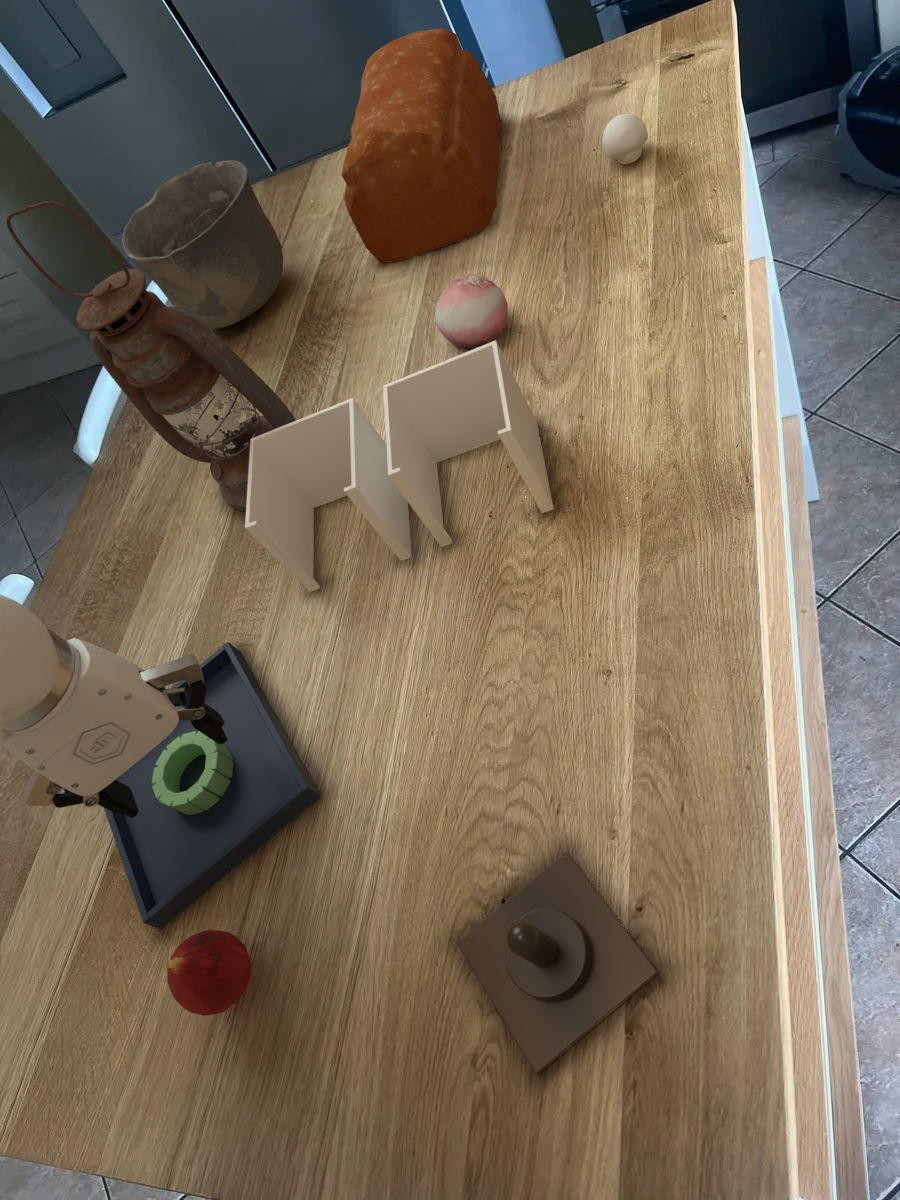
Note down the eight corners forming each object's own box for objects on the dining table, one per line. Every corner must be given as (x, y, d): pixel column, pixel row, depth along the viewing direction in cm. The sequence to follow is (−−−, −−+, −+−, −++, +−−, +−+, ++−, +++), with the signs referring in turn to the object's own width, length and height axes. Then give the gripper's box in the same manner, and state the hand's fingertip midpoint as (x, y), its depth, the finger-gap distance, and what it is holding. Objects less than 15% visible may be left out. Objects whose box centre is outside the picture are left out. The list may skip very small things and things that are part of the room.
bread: (371, 273, 111) (308, 169, 100) (390, 156, 124) (337, 51, 113) (500, 230, 105) (449, 113, 93) (507, 111, 118) (462, -5, 106)
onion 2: (532, 328, 94) (507, 275, 88) (476, 376, 94) (448, 325, 88) (489, 301, 99) (464, 249, 93) (436, 347, 99) (408, 297, 93)
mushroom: (616, 180, 101) (605, 140, 97) (603, 159, 104) (591, 120, 100) (658, 157, 100) (648, 116, 96) (643, 137, 103) (632, 97, 99)
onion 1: (238, 927, 72) (174, 902, 65) (285, 966, 68) (222, 944, 62) (194, 994, 70) (124, 975, 64) (239, 1038, 67) (171, 1023, 61)
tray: (160, 929, 74) (143, 923, 73) (102, 765, 87) (86, 757, 85) (321, 796, 75) (307, 787, 73) (240, 652, 87) (227, 641, 85)
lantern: (224, 440, 106) (-13, 185, 79) (341, 423, 99) (125, 136, 72) (193, 517, 101) (-70, 273, 74) (314, 505, 94) (71, 229, 67)
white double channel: (536, 422, 87) (495, 340, 78) (553, 509, 80) (511, 429, 72) (310, 506, 94) (250, 438, 85) (309, 591, 87) (244, 528, 79)
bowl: (295, 234, 124) (231, 135, 112) (326, 298, 112) (258, 196, 101) (188, 303, 126) (115, 214, 114) (208, 373, 115) (129, 282, 103)
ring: (183, 830, 78) (165, 821, 76) (160, 774, 83) (142, 765, 81) (243, 780, 78) (227, 770, 77) (217, 727, 83) (201, 716, 81)
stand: (538, 1074, 57) (498, 1062, 52) (458, 944, 64) (416, 921, 58) (658, 973, 57) (632, 950, 52) (567, 853, 64) (535, 822, 58)
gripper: (-65, 793, 62) (108, 865, 75) (132, 632, 62) (270, 732, 75) (-77, 720, 67) (87, 800, 80) (105, 572, 67) (239, 675, 80)
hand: (175, 767), depth 77 cm, fingers open, 9 cm apart
